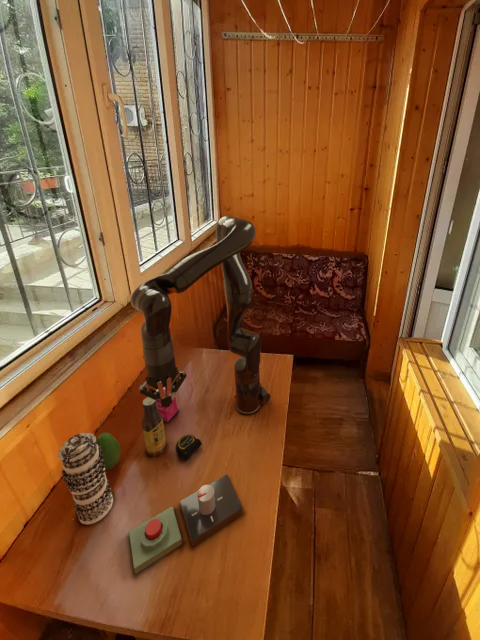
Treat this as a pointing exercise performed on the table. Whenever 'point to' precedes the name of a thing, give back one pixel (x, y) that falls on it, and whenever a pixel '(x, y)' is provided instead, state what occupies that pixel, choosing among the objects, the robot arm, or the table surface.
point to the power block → (154, 540)
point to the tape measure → (187, 446)
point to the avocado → (109, 449)
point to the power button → (153, 529)
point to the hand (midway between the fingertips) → (167, 405)
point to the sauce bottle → (153, 428)
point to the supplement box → (169, 411)
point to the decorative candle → (86, 477)
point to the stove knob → (206, 499)
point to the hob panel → (222, 514)
